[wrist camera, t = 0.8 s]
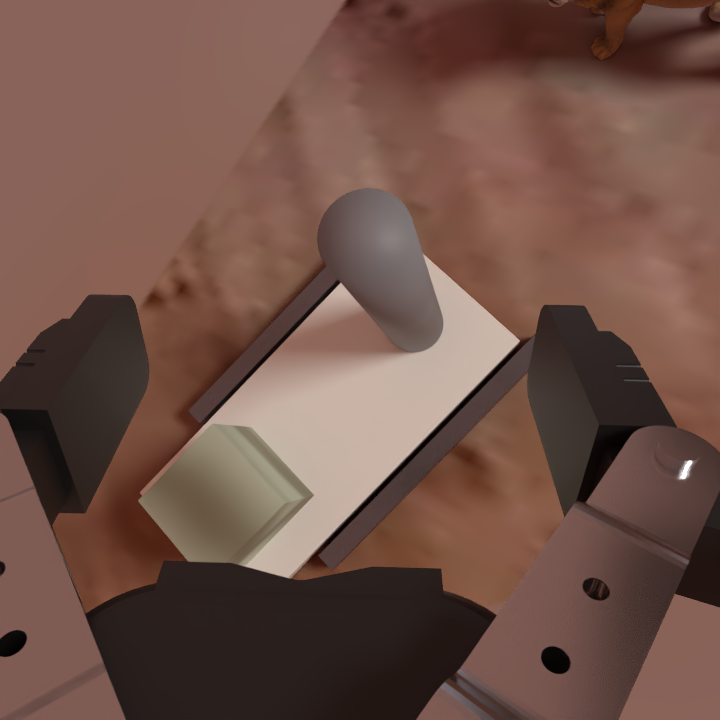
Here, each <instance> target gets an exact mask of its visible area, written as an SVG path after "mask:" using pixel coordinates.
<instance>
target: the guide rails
mask: <svg viewBox="0 0 720 720" xmlns="http://www.w3.org/2000/svg"><path fill="white" fill-rule="evenodd" d="M340 283H341V282H340V281H339V280H338V279H337V278H336V277H335V275H334V274H333V273H332V272H331V271H330V270H329V268H328V267H327V266H326V267H325V268H324V269H323V270H322V271H321V272H320V273H319V274H318V275H317V276H316V277H315V278H314V279H313V280H312V282H311V283H310V284H309V285H308V286H307V287H306V288H305V289H304V290H303V291H302V292H301V293H300V294H299V295H298V296H297V297H296V298H295V299H294V300H293V301H292V302H291V303H290V305H289V306H288V307H287V308H286V309H285V310H284V311H283V312H282V313H281V314H280V315H279V316H278V317H277V318H276V319H275V320H274V321H273V322H272V323H271V324H270V325H269V326H268V328H267V329H266V330H265V331H264V332H263V333H262V334H261V335H260V336H259V337H258V338H257V339H256V340H255V341H254V342H253V343H252V344H251V345H250V346H249V347H248V348H247V349H246V351H245V352H244V353H243V354H242V355H241V356H240V357H239V358H238V359H237V360H236V361H235V362H234V363H233V364H232V365H231V366H230V367H229V368H228V369H227V370H226V371H225V372H224V374H223V375H222V376H221V377H220V378H219V379H218V380H217V381H216V382H215V383H214V384H213V385H212V386H211V387H210V388H209V389H208V390H207V391H206V392H205V393H204V394H203V396H202V397H201V398H200V399H199V400H198V401H197V402H196V403H195V404H194V405H193V406H192V407H191V408H190V409H189V410H188V411H189V413H190V414H191V415H192V416H193V417H194V418H195V419H196V420H197V421H198V423H199V424H206V423H207V422H208V421H209V420H210V419H211V418H212V416H213V415H214V414H215V413H216V412H217V411H218V410H219V409H220V408H221V407H222V406H223V405H224V404H225V403H226V402H227V401H228V400H229V399H230V398H231V397H232V396H233V395H234V394H235V393H236V391H237V390H238V389H239V388H240V387H241V386H242V385H243V384H244V383H245V382H246V381H247V380H248V379H249V378H250V377H251V376H252V375H253V374H254V373H255V372H256V371H257V370H258V369H259V367H260V366H261V365H262V364H263V363H264V362H265V361H266V360H267V359H268V358H269V357H270V356H271V355H272V354H273V353H274V352H275V351H276V350H277V349H278V348H279V347H280V346H281V345H282V343H283V342H284V341H285V340H286V339H287V338H288V337H289V336H290V335H291V334H292V333H293V332H294V331H295V330H296V329H297V328H298V327H299V326H300V325H301V324H302V323H303V322H304V321H305V320H306V318H307V317H308V316H309V315H310V314H311V313H312V312H313V311H314V310H315V309H316V308H317V307H318V306H319V305H320V304H321V303H322V302H323V301H324V300H325V299H326V298H327V297H328V296H329V294H330V293H331V292H332V291H333V290H334V289H335V288H336V287H337V286H338V285H339V284H340ZM535 335H536V334H535ZM535 335H534V336H533V337H532V338H531V339H530V340H529V341H528V342H527V343H526V344H525V345H524V346H523V347H522V348H521V349H520V350H519V351H518V352H517V353H516V354H515V355H514V356H513V357H512V358H511V359H510V360H509V361H508V362H507V363H506V364H505V365H504V366H503V367H502V368H501V369H500V370H499V371H498V372H497V374H496V375H495V376H494V377H493V378H492V379H491V380H490V381H489V382H488V383H487V384H486V385H485V386H484V387H483V388H482V389H481V390H480V391H479V392H478V393H477V394H476V395H475V396H474V397H473V398H472V399H471V400H470V401H469V402H468V403H467V404H466V405H465V406H464V407H463V408H462V409H461V410H460V411H459V412H458V413H457V414H456V415H455V416H454V417H453V418H452V420H451V421H450V422H449V423H448V424H447V425H446V426H445V427H444V428H443V429H442V430H441V431H440V432H439V433H438V434H437V435H436V436H435V437H434V438H433V439H432V440H431V441H430V442H429V443H428V444H427V445H426V446H425V447H424V448H423V449H422V450H421V451H420V452H419V453H418V454H417V455H416V456H415V457H414V458H413V459H412V460H411V461H410V462H409V463H408V464H407V466H406V467H405V468H404V469H403V470H402V471H401V472H400V473H399V474H398V475H397V476H396V477H395V478H394V479H393V480H392V481H391V482H390V483H389V484H388V485H387V486H386V487H385V488H384V489H383V490H382V491H381V492H380V493H379V494H378V495H377V496H376V497H375V498H374V499H373V500H372V501H371V502H370V503H369V504H368V505H367V506H366V507H365V508H364V509H363V510H362V512H361V513H360V514H359V515H358V516H357V517H356V518H355V519H354V520H353V521H352V522H351V523H350V524H349V525H348V526H347V527H346V528H345V529H344V530H343V531H342V532H341V533H340V534H339V535H338V536H337V537H336V538H335V539H334V540H333V541H332V542H331V543H330V544H329V545H328V546H327V547H326V548H325V549H324V550H323V551H322V552H321V553H320V554H319V555H318V556H319V557H320V558H321V559H322V561H323V562H324V563H325V564H326V565H327V566H328V567H329V568H330V570H331V571H332V570H333V569H334V568H335V567H337V566H338V565H339V564H340V563H341V562H342V561H343V560H344V559H345V558H346V557H347V556H348V555H349V554H350V553H351V552H352V551H353V550H354V549H355V548H356V547H357V546H358V545H359V544H360V543H361V542H362V541H363V540H364V539H365V538H366V536H367V535H368V534H369V533H370V532H371V531H372V530H373V529H374V528H375V527H376V526H377V525H378V524H379V523H380V522H381V521H382V520H383V519H384V518H385V517H386V516H387V515H388V514H389V513H390V512H391V511H392V510H393V509H394V508H395V507H396V506H397V505H398V504H399V503H400V502H401V501H402V500H403V499H404V498H405V497H406V496H407V495H408V494H409V493H410V492H411V491H412V490H413V489H414V488H415V487H416V486H417V484H418V483H419V482H420V481H421V480H422V479H423V478H424V477H425V476H426V475H427V474H428V473H429V472H430V471H431V470H432V469H433V468H434V467H435V466H436V465H437V464H438V463H439V462H440V461H441V460H442V459H443V458H444V457H445V456H446V455H447V454H448V453H449V452H450V451H451V450H452V449H453V448H454V447H455V446H456V445H457V444H458V443H459V442H460V441H461V440H462V439H463V438H464V437H465V436H466V435H467V434H468V432H469V431H470V430H471V429H472V428H473V427H474V426H475V425H476V424H477V423H478V422H479V421H480V420H481V419H482V418H483V417H484V416H485V415H486V414H487V413H488V412H489V411H490V410H491V409H492V408H493V407H494V406H495V405H496V404H497V403H498V402H499V401H500V400H501V399H502V398H503V397H504V396H505V395H506V394H507V393H508V392H509V391H510V390H511V389H512V388H513V387H514V386H515V385H516V384H517V383H518V382H519V380H520V379H521V378H522V377H523V376H524V375H525V374H526V373H527V372H528V370H529V365H530V360H531V355H532V350H533V345H534V340H535Z"/></svg>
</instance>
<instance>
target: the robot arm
mask: <svg viewBox="0 0 720 720" xmlns="http://www.w3.org/2000/svg"><path fill="white" fill-rule="evenodd" d="M640 366H641V364H640V362H639V361H638V359H637V357H636V355H635V354H634V352H633V350H632V348H631V347H630V346H629V345H628V344H626V343H625V342H624V341H622V340H621V339H620V338H619V337H617V336H616V335H615V334H613V333H612V332H611V331H598V330H597V328H596V326H595V324H594V322H593V320H592V318H591V316H590V314H589V313H588V311H587V309H586V307H585V306H576V305H544V306H543V307H542V309H541V312H540V315H539V320H538V325H537V330H536V335H535V340H534V345H533V350H532V355H531V360H530V365H529V370H528V379H527V389H528V398H529V402H530V406H531V409H532V412H533V415H534V419H535V422H536V425H537V429H538V432H539V435H540V438H541V442H542V445H543V448H544V451H545V455H546V458H547V461H548V465H549V468H550V471H551V474H552V478H553V481H554V484H555V487H556V491H557V494H558V497H559V501H560V504H561V507H562V510H563V514H564V519H563V520H562V522H561V523H560V525H559V526H558V528H557V529H556V530H555V532H554V533H553V535H552V536H551V538H550V539H549V541H548V542H547V543H546V545H545V546H544V548H543V549H542V551H541V552H540V554H539V555H538V557H537V558H536V559H535V561H534V562H533V564H532V565H531V567H530V568H529V570H528V571H527V572H526V574H525V575H524V577H523V578H522V580H521V581H520V583H519V584H518V586H517V587H516V588H515V590H514V591H513V593H512V594H511V596H510V597H509V599H508V600H507V601H506V603H505V604H504V606H503V607H502V609H501V610H500V612H499V613H498V615H496V614H494V613H493V612H491V611H490V610H488V609H487V608H485V607H483V606H481V605H479V604H477V603H475V602H473V601H471V600H469V599H467V598H464V597H462V596H459V595H456V594H454V593H450V592H446V591H443V585H442V574H441V569H433V568H397V567H369V568H364V569H359V570H354V571H349V572H344V573H339V574H334V575H329V576H324V577H319V578H313V579H308V580H294V579H290V578H286V577H282V576H279V575H275V574H271V573H268V572H264V571H260V570H256V569H253V568H249V567H245V566H241V565H238V564H234V563H220V562H184V561H164V562H163V565H162V568H161V571H160V574H159V577H158V580H157V583H155V584H150V585H147V586H143V587H140V588H137V589H134V590H131V591H128V592H126V593H123V594H121V595H119V596H116V597H114V598H112V599H110V600H108V601H106V602H104V603H103V604H101V605H99V606H97V607H96V608H94V609H92V610H91V611H89V612H88V613H87V612H86V609H85V607H84V604H83V602H82V599H81V597H80V594H79V592H78V589H77V587H76V584H75V582H74V579H73V577H72V574H71V572H70V569H69V567H68V564H67V562H66V559H65V557H64V554H63V552H62V549H61V547H60V544H59V542H58V539H57V537H56V534H55V532H54V530H53V527H52V525H53V523H54V521H55V519H56V517H57V515H58V513H86V511H87V508H88V506H89V504H90V502H91V500H92V498H93V496H94V494H95V492H96V490H97V488H98V486H99V484H100V482H101V480H102V478H103V476H104V474H105V472H106V470H107V468H108V466H109V464H110V462H111V460H112V458H113V456H114V454H115V452H116V450H117V448H118V446H119V444H120V442H121V440H122V438H123V436H124V434H125V432H126V430H127V428H128V426H129V424H130V422H131V420H132V418H133V416H134V414H135V412H136V410H137V407H138V405H139V403H140V401H141V399H142V397H143V395H144V393H145V391H146V389H147V385H148V380H149V362H148V357H147V352H146V348H145V344H144V339H143V335H142V331H141V326H140V322H139V317H138V313H137V309H136V305H135V303H134V300H133V299H132V297H131V296H129V295H89V296H87V297H86V299H85V300H84V301H83V303H82V304H81V305H80V306H79V308H78V309H77V310H76V312H75V313H74V314H73V315H72V317H71V318H70V319H62V320H60V321H58V322H57V323H55V324H54V325H52V326H50V327H49V328H47V329H46V330H44V331H43V332H41V333H40V334H39V335H38V336H37V338H36V339H35V340H34V341H33V343H32V344H31V345H30V346H29V347H28V349H27V353H24V354H23V355H22V356H21V357H20V358H19V360H18V361H17V362H16V367H12V368H11V369H10V371H9V372H8V373H7V374H6V376H5V377H4V378H3V379H2V381H1V382H0V720H618V719H619V717H620V715H621V713H622V710H623V708H624V706H625V704H626V701H627V699H628V697H629V695H630V692H631V690H632V688H633V686H634V683H635V681H636V679H637V677H638V674H639V672H640V670H641V668H642V665H643V663H644V661H645V659H646V657H647V655H648V652H649V650H650V648H651V646H652V643H653V641H654V639H655V637H656V634H657V632H658V630H659V628H660V625H661V623H662V621H663V618H664V617H665V614H666V612H667V610H668V608H669V605H670V603H671V601H672V599H673V596H674V594H677V595H681V596H684V597H687V598H691V599H694V600H698V601H700V602H704V603H707V604H711V605H714V606H717V607H720V453H719V452H718V450H717V449H715V448H714V447H713V446H712V445H711V444H710V443H708V442H707V441H706V440H704V439H702V438H701V437H699V436H697V435H695V434H693V433H691V432H688V431H685V430H682V429H679V428H677V426H676V424H675V423H674V421H673V419H672V417H671V416H670V414H669V412H668V411H667V409H666V407H665V405H664V404H663V402H662V400H661V398H660V397H659V395H658V393H657V392H656V390H655V388H654V386H653V385H652V383H651V382H649V378H648V376H647V374H646V373H645V371H644V369H643V368H641V367H640Z"/></svg>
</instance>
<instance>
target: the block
mask: <svg viewBox="0 0 720 720" xmlns="http://www.w3.org/2000/svg"><path fill="white" fill-rule="evenodd" d="M313 496H314V494H313V493H312V492H311V491H310V490H309V489H308V488H307V487H306V486H305V485H304V484H303V483H302V481H301V480H300V479H299V478H298V477H297V476H296V475H295V474H294V473H293V472H292V471H291V470H290V468H289V467H288V466H287V465H286V464H285V463H284V462H283V461H282V460H281V459H280V458H279V457H278V455H277V454H276V453H275V452H274V451H273V450H272V449H271V448H270V447H269V446H268V445H267V444H266V442H265V441H264V440H263V439H262V438H261V437H260V436H259V435H258V434H257V433H256V432H255V431H254V429H253V428H252V427H245V426H234V425H223V424H211V425H210V426H209V427H208V428H207V429H206V430H205V431H204V432H203V433H202V434H201V435H200V437H199V438H198V439H197V440H196V441H195V442H194V443H193V444H192V445H191V446H190V447H189V448H188V449H187V450H186V451H185V452H184V453H183V454H182V455H181V456H180V457H179V458H178V459H177V461H176V462H175V463H174V464H173V465H172V466H171V467H170V468H169V469H168V470H167V471H166V472H165V473H164V474H163V475H162V476H161V477H160V478H159V479H158V480H157V481H156V482H155V483H154V484H153V486H152V487H151V488H150V489H149V490H148V491H147V492H146V493H145V494H144V495H143V496H142V497H141V498H140V499H139V500H138V502H139V503H140V504H141V505H142V507H143V508H144V509H145V510H146V511H147V513H148V514H149V515H150V516H151V517H152V519H153V520H154V521H155V522H156V523H157V525H158V526H159V527H160V528H161V529H162V531H163V532H164V533H165V534H166V535H167V537H168V538H169V539H170V540H171V541H172V543H173V544H174V545H175V546H176V547H177V549H178V550H179V551H180V552H181V553H182V555H183V556H184V557H185V558H186V559H187V561H188V562H220V563H234V564H238V565H241V566H244V565H246V564H248V563H249V562H250V561H251V560H252V559H253V558H254V557H255V556H256V555H257V554H258V553H259V552H260V551H261V550H262V549H263V547H264V546H265V545H266V544H267V543H268V542H269V541H270V540H271V539H272V538H273V537H274V536H275V535H276V534H277V533H278V532H279V531H280V530H281V529H282V528H283V527H284V526H285V525H286V524H287V523H288V522H289V521H290V520H291V519H292V518H293V517H294V516H295V515H296V514H297V513H298V512H299V510H300V509H301V508H302V507H303V506H304V505H305V504H306V503H307V502H308V501H309V500H310V499H311V498H312V497H313Z"/></svg>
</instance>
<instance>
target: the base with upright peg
mask: <svg viewBox="0 0 720 720" xmlns="http://www.w3.org/2000/svg"><path fill="white" fill-rule="evenodd" d="M317 241H318V249H319V252H320V255H321V258H322V260H323V262H324V263H325V265H326V266H327V267H328V268H329V270H330V271H331V272H332V273H333V274H334V275H335V277H336V278H337V279H338V280H339V281H340V282H341V283H340V284H339V285H338V286H337V287H336V288H335V289H334V290H333V291H332V292H331V293H330V294H329V296H328V297H327V298H326V299H325V300H324V301H323V302H322V303H321V304H320V305H319V306H318V307H317V308H316V309H315V310H314V311H313V312H312V313H311V314H310V315H309V316H308V317H307V318H306V320H305V321H304V322H303V323H302V324H301V325H300V326H299V327H298V328H297V329H296V330H295V331H294V332H293V333H292V334H291V335H290V336H289V337H288V338H287V339H286V340H285V341H284V342H283V343H282V345H281V346H280V347H279V348H278V349H277V350H276V351H275V352H274V353H273V354H272V355H271V356H270V357H269V358H268V359H267V360H266V361H265V362H264V363H263V364H262V365H261V366H260V367H259V369H258V370H257V371H256V372H255V373H254V374H253V375H252V376H251V377H250V378H249V379H248V380H247V381H246V382H245V383H244V384H243V385H242V386H241V387H240V388H239V389H238V390H237V391H236V393H235V394H234V395H233V396H232V397H231V398H230V399H229V400H228V401H227V402H226V403H225V404H224V405H223V406H222V407H221V408H220V409H219V410H218V411H217V412H216V413H215V414H214V415H213V416H212V418H211V419H210V420H209V421H208V422H207V423H206V424H205V425H204V426H203V427H202V428H201V429H200V430H199V431H198V432H197V433H196V434H195V435H194V436H193V437H192V438H191V439H190V440H189V442H188V443H187V444H186V445H185V446H184V447H183V448H182V449H181V450H180V451H179V452H178V453H177V454H176V455H175V456H174V457H173V458H172V459H171V460H170V461H169V462H168V463H167V464H166V466H165V467H164V468H163V469H162V470H161V471H160V472H159V473H158V474H157V475H156V476H155V477H154V478H153V479H152V480H151V481H150V482H149V483H148V484H147V485H146V486H145V487H144V488H143V489H142V491H141V492H140V494H141V495H142V496H143V495H144V494H145V493H146V492H147V491H148V490H149V489H150V488H151V487H152V486H153V484H154V483H155V482H156V481H157V480H158V479H159V478H160V477H161V476H162V475H163V474H164V473H165V472H166V471H167V470H168V469H169V468H170V467H171V466H172V465H173V464H174V463H175V462H176V461H177V459H178V458H179V457H180V456H181V455H182V454H183V453H184V452H185V451H186V450H187V449H188V448H189V447H190V446H191V445H192V444H193V443H194V442H195V441H196V440H197V439H198V438H199V437H200V435H201V434H202V433H203V432H204V431H205V430H206V429H207V428H208V427H209V426H210V425H211V424H223V425H234V426H245V427H252V428H253V429H254V431H255V432H256V433H257V434H258V435H259V436H260V437H261V438H262V439H263V440H264V441H265V442H266V444H267V445H268V446H269V447H270V448H271V449H272V450H273V451H274V452H275V453H276V454H277V455H278V457H279V458H280V459H281V460H282V461H283V462H284V463H285V464H286V465H287V466H288V467H289V468H290V470H291V471H292V472H293V473H294V474H295V475H296V476H297V477H298V478H299V479H300V480H301V481H302V483H303V484H304V485H305V486H306V487H307V488H308V489H309V490H310V491H311V492H312V493H313V494H314V496H313V497H312V498H311V499H310V500H309V501H308V502H307V503H306V504H305V505H304V506H303V507H302V508H301V509H300V510H299V512H298V513H297V514H296V515H295V516H294V517H293V518H292V519H291V520H290V521H289V522H288V523H287V524H286V525H285V526H284V527H283V528H282V529H281V530H280V531H279V532H278V533H277V534H276V535H275V536H274V537H273V538H272V539H271V540H270V541H269V542H268V543H267V544H266V545H265V546H264V547H263V549H262V550H261V551H260V552H259V553H258V554H257V555H256V556H255V557H254V558H253V559H252V560H251V561H250V562H249V563H248V564H246V565H244V566H245V567H249V568H253V569H256V570H260V571H264V572H268V573H271V574H275V575H279V576H282V577H286V578H291V577H292V576H293V575H294V574H295V573H296V572H297V571H298V570H299V569H300V568H301V567H302V566H303V565H304V564H305V563H306V562H307V561H308V560H309V559H310V558H311V557H312V556H313V555H314V554H315V553H316V552H317V551H318V550H319V549H320V548H321V547H322V546H323V545H324V544H325V543H326V542H327V541H328V540H329V539H330V538H331V537H332V536H333V535H334V533H335V532H336V531H337V530H338V529H339V528H340V527H341V526H342V525H343V524H344V523H345V522H346V521H347V520H348V519H349V518H350V517H351V516H352V515H353V514H354V513H355V512H356V511H357V510H358V509H359V508H360V507H361V506H362V505H363V504H364V503H365V502H366V501H367V500H368V499H369V498H370V497H371V496H372V495H373V494H374V493H375V492H376V491H377V490H378V489H379V487H380V486H381V485H382V484H383V483H384V482H385V481H386V480H387V479H388V478H389V477H390V476H391V475H392V474H393V473H394V472H395V471H396V470H397V469H398V468H399V467H400V466H401V465H402V464H403V463H404V462H405V461H406V460H407V459H408V458H409V457H410V456H411V455H412V454H413V453H414V452H415V451H416V450H417V449H418V448H419V447H420V446H421V445H422V444H423V442H424V441H425V440H426V439H427V438H428V437H429V436H430V435H431V434H432V433H433V432H434V431H435V430H436V429H437V428H438V427H439V426H440V425H441V424H442V423H443V422H444V421H445V420H446V419H447V418H448V417H449V416H450V415H451V414H452V413H453V412H454V411H455V410H456V409H457V408H458V407H459V406H460V405H461V404H462V403H463V402H464V401H465V400H466V399H467V397H468V396H469V395H470V394H471V393H472V392H473V391H474V390H475V389H476V388H477V387H478V386H479V385H480V384H481V383H482V382H483V381H484V380H485V379H486V378H487V377H488V376H489V375H490V374H491V373H492V372H493V371H494V370H495V369H496V368H497V367H498V366H499V365H500V364H501V363H502V362H503V361H504V360H505V359H506V358H507V357H508V356H509V355H510V354H511V353H512V351H513V350H514V349H515V348H516V347H517V346H518V345H519V342H520V340H519V339H517V338H516V337H515V336H514V335H513V334H512V333H511V332H510V331H509V330H507V329H506V328H505V327H504V326H503V325H502V324H501V323H500V322H499V321H497V320H496V319H495V318H494V317H493V316H492V315H491V314H490V313H488V312H487V311H486V310H485V309H484V308H483V307H482V306H481V305H480V304H478V303H477V302H476V301H475V300H474V299H473V298H472V297H471V296H470V295H468V294H467V293H466V292H465V291H464V290H463V289H462V288H461V287H459V286H458V285H457V284H456V283H455V282H454V281H453V280H452V279H451V278H449V277H448V276H447V275H446V274H445V273H444V272H443V271H442V270H440V269H439V268H438V267H437V266H436V265H435V264H434V263H433V262H432V261H430V260H429V259H428V258H427V257H426V256H425V255H424V254H423V252H422V249H421V246H420V243H419V240H418V236H417V233H416V230H415V227H414V224H413V221H412V218H411V215H410V213H409V211H408V209H407V208H406V206H405V205H404V204H403V203H402V202H401V201H400V200H399V199H398V198H397V197H395V196H394V195H392V194H390V193H388V192H386V191H383V190H379V189H372V188H368V189H359V190H355V191H352V192H349V193H347V194H345V195H343V196H341V197H340V198H339V199H337V200H336V201H335V202H334V203H333V204H332V205H331V206H330V207H329V208H328V209H327V211H326V212H325V214H324V216H323V218H322V220H321V222H320V225H319V229H318V237H317Z"/></svg>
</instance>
